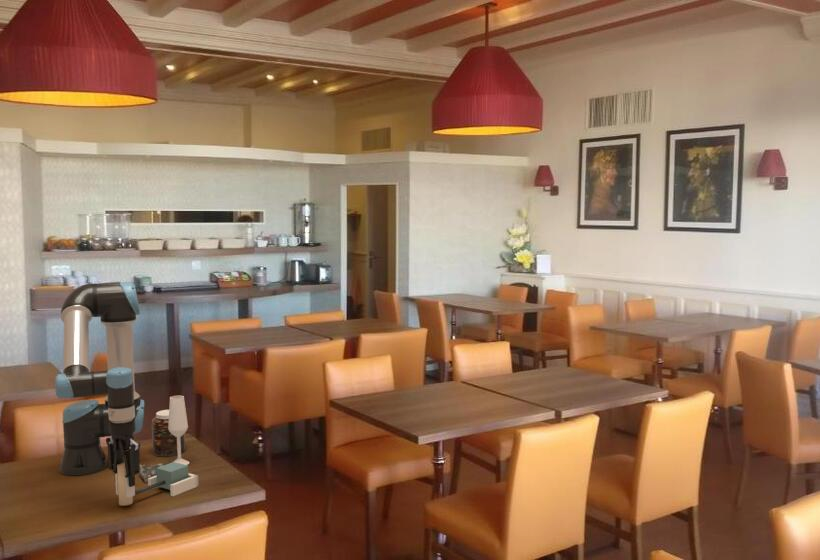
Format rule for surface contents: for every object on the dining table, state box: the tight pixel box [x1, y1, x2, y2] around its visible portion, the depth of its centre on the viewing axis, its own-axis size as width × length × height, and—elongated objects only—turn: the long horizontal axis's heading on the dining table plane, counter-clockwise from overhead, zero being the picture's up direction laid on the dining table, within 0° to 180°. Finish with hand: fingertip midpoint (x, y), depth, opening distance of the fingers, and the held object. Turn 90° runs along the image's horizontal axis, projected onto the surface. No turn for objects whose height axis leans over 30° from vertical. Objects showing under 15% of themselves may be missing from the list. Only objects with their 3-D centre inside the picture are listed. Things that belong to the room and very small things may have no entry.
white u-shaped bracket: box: [147, 472, 200, 497], centre depth 252 cm, size 12×10×4 cm
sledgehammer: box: [117, 461, 189, 506], centre depth 245 cm, size 7×24×12 cm, turn 147°
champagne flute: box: [168, 395, 190, 466], centre depth 275 cm, size 7×7×24 cm
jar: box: [151, 409, 186, 458], centre depth 288 cm, size 12×12×15 cm
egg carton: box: [139, 463, 164, 483], centre depth 262 cm, size 11×8×4 cm
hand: (125, 494), depth 237 cm, fingers closed on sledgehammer, 4 cm apart
